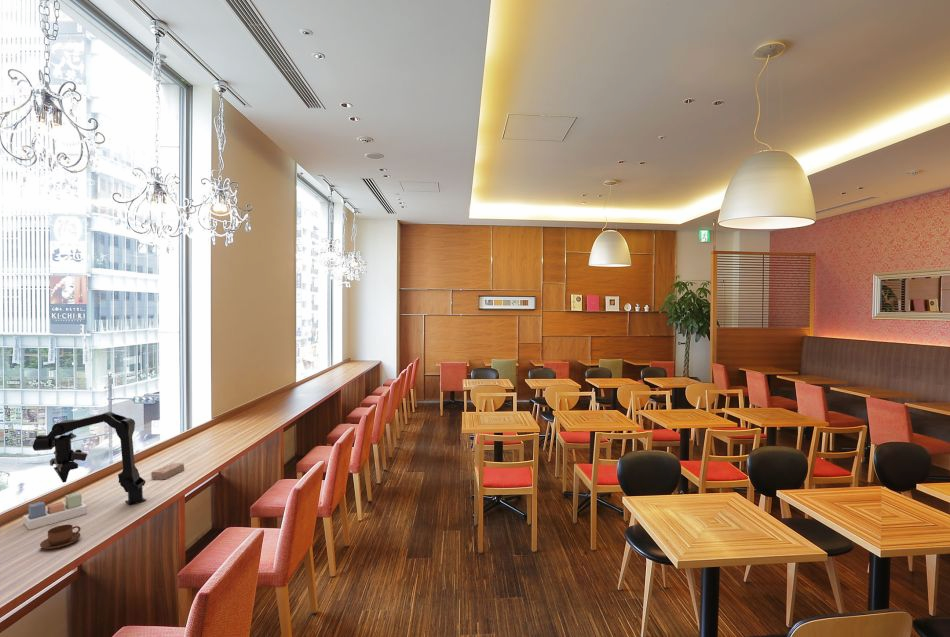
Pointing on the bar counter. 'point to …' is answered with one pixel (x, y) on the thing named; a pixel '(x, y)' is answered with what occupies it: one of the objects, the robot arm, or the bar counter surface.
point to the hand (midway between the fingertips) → (64, 482)
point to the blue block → (36, 510)
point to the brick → (167, 471)
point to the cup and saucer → (60, 537)
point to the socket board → (54, 517)
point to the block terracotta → (55, 507)
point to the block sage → (73, 500)
